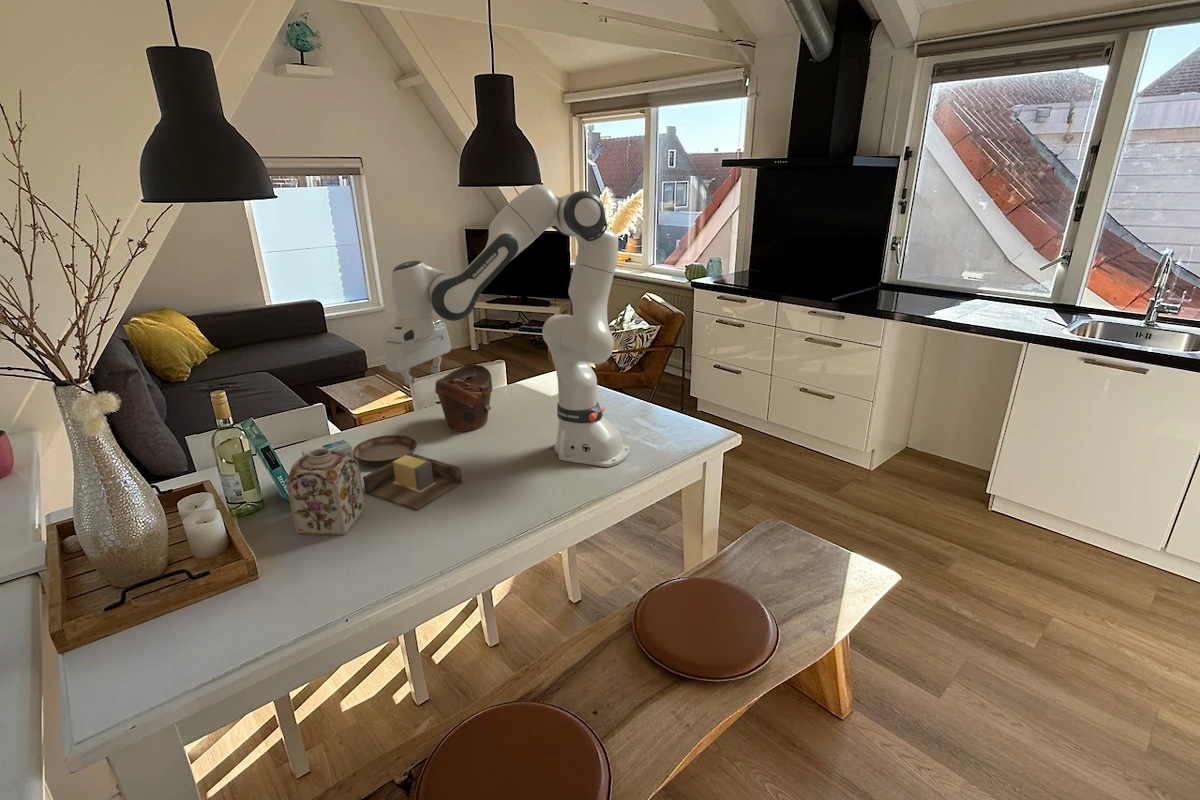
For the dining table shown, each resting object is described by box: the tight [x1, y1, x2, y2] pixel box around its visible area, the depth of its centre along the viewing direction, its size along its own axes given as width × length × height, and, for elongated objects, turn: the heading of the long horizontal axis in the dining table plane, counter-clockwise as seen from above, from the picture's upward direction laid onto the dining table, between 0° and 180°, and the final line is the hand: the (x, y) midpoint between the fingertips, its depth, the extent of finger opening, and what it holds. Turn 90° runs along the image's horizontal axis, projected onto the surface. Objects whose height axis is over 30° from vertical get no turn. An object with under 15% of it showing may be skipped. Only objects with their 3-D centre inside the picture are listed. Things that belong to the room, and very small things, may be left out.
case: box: [434, 364, 493, 432], centre depth 192 cm, size 18×20×18 cm
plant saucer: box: [352, 434, 419, 467], centre depth 173 cm, size 18×18×3 cm
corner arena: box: [362, 453, 463, 511], centre depth 155 cm, size 18×16×4 cm
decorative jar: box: [285, 448, 366, 536], centre depth 138 cm, size 12×12×18 cm
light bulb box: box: [301, 437, 354, 458], centre depth 156 cm, size 11×7×11 cm, turn 135°
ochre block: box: [393, 455, 434, 491], centre depth 156 cm, size 4×9×6 cm, turn 61°
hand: (423, 378), depth 158 cm, fingers open, 8 cm apart
